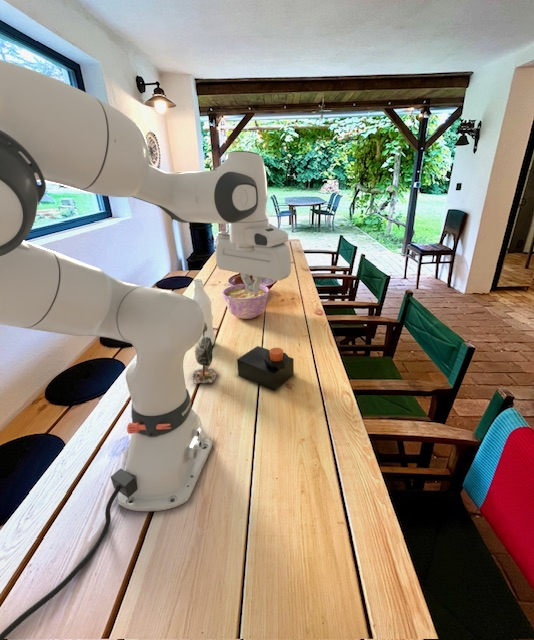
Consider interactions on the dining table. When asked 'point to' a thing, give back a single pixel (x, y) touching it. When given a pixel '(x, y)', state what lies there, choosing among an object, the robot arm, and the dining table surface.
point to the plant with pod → (204, 360)
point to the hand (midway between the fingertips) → (252, 291)
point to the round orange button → (276, 354)
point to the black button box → (265, 368)
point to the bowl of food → (245, 301)
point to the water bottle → (204, 308)
